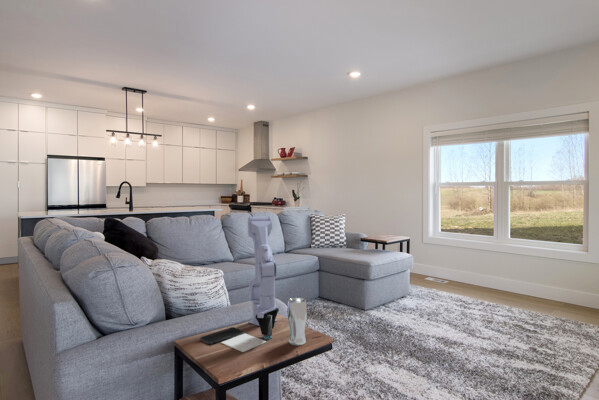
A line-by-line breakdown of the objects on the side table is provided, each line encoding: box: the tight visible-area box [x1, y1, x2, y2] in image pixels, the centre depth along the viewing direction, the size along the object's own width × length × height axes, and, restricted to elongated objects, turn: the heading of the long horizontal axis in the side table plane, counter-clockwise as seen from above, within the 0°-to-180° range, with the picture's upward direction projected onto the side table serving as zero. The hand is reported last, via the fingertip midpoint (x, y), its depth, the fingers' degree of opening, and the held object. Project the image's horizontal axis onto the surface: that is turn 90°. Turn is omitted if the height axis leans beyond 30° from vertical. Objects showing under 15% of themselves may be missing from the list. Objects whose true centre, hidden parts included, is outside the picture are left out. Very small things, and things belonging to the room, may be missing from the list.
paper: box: [220, 333, 268, 353], centre depth 128 cm, size 11×12×1 cm
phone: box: [199, 326, 244, 346], centre depth 134 cm, size 8×1×15 cm
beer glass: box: [286, 297, 308, 346], centre depth 128 cm, size 7×7×15 cm
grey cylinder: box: [263, 315, 273, 341], centre depth 132 cm, size 3×3×8 cm
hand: (267, 331), depth 132 cm, fingers open, 5 cm apart
